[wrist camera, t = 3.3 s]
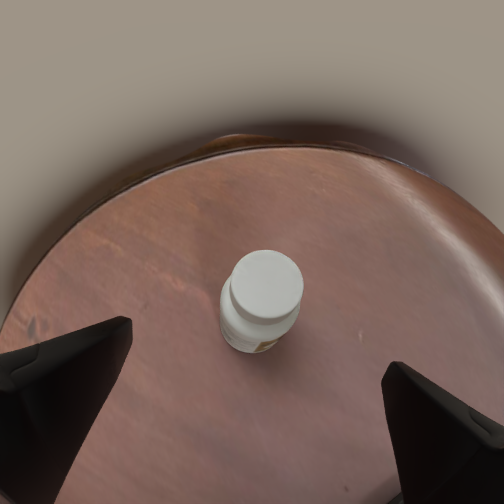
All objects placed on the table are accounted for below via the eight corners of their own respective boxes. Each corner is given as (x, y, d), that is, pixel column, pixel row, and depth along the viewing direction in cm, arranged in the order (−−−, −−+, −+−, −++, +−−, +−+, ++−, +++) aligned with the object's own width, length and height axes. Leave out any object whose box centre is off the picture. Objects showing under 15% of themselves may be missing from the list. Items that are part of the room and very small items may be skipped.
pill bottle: (269, 363, 19) (298, 343, 12) (209, 339, 19) (204, 305, 12) (290, 307, 21) (324, 260, 14) (234, 285, 21) (242, 227, 15)
